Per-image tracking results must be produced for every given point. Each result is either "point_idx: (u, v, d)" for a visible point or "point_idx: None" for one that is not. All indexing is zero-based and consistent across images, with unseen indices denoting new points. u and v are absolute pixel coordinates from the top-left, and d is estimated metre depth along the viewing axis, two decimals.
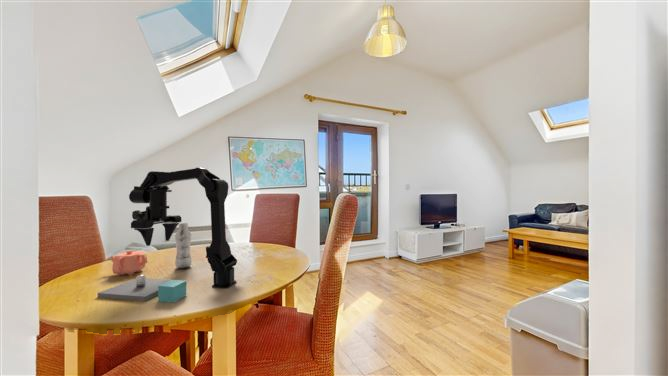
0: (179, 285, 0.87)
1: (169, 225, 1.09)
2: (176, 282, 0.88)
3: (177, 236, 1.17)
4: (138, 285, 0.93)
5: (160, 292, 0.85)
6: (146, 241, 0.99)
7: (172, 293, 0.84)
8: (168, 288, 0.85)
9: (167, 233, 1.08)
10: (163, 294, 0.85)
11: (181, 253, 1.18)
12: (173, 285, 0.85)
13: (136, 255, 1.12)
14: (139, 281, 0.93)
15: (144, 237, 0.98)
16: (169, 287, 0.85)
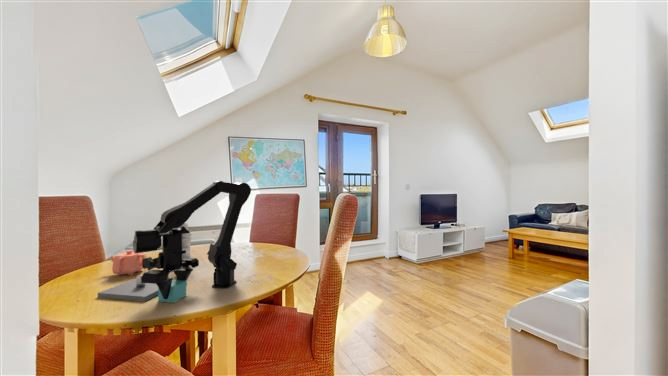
0: (179, 285, 0.87)
1: (181, 273, 0.91)
2: (176, 282, 0.88)
3: None
4: (138, 285, 0.93)
5: (160, 292, 0.85)
6: (163, 294, 0.84)
7: (172, 293, 0.84)
8: None
9: None
10: None
11: None
12: (173, 285, 0.85)
13: (136, 255, 1.12)
14: (139, 281, 0.93)
15: (161, 290, 0.83)
16: None
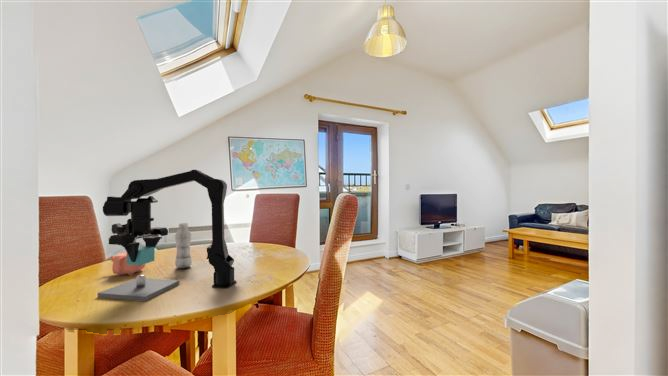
0: (147, 250, 0.93)
1: (150, 240, 0.97)
2: (144, 248, 0.94)
3: (177, 236, 1.17)
4: (138, 285, 0.93)
5: (128, 256, 0.91)
6: (131, 257, 0.90)
7: (139, 256, 0.91)
8: None
9: None
10: None
11: (181, 253, 1.18)
12: (141, 249, 0.92)
13: None
14: (139, 281, 0.93)
15: (129, 253, 0.90)
16: None
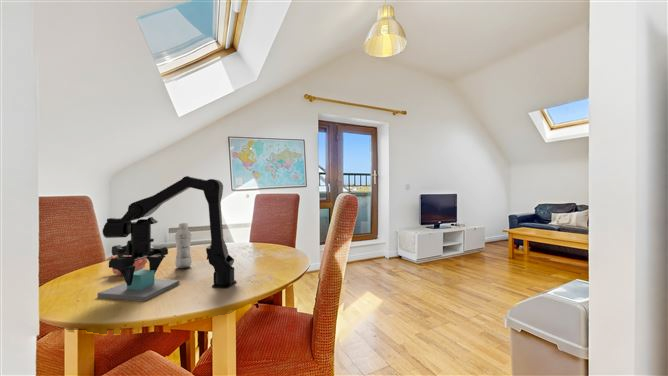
0: (147, 274, 0.93)
1: (154, 259, 0.99)
2: (144, 271, 0.94)
3: (177, 236, 1.17)
4: None
5: None
6: (127, 280, 0.89)
7: (139, 281, 0.91)
8: (136, 276, 0.91)
9: (152, 268, 0.98)
10: None
11: (181, 253, 1.18)
12: (141, 274, 0.92)
13: None
14: None
15: (124, 276, 0.88)
16: (136, 275, 0.91)
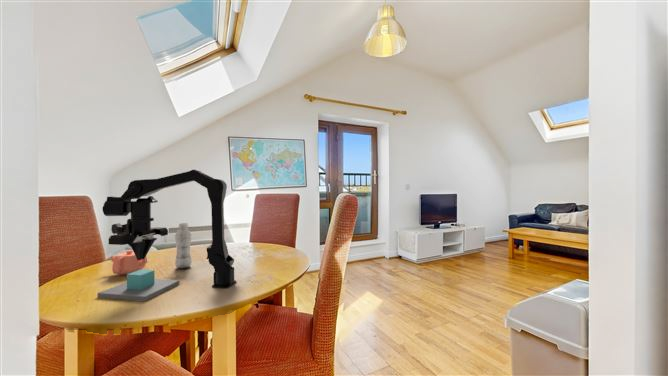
0: (147, 274, 0.93)
1: (145, 241, 0.95)
2: (144, 271, 0.94)
3: (177, 236, 1.17)
4: None
5: (128, 280, 0.91)
6: (137, 255, 0.92)
7: (139, 281, 0.91)
8: (136, 276, 0.91)
9: (142, 250, 0.95)
10: (131, 282, 0.91)
11: (181, 253, 1.18)
12: (141, 274, 0.92)
13: None
14: None
15: (135, 251, 0.92)
16: (136, 275, 0.91)
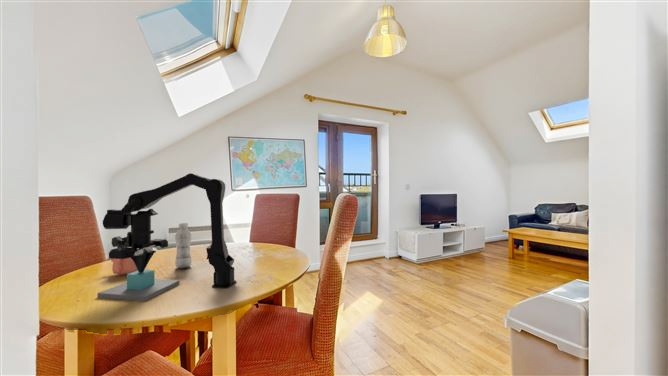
0: (147, 274, 0.93)
1: (144, 254, 0.94)
2: (144, 271, 0.94)
3: (177, 236, 1.17)
4: None
5: (128, 280, 0.91)
6: (138, 268, 0.93)
7: (139, 281, 0.91)
8: (136, 276, 0.91)
9: None
10: (131, 282, 0.91)
11: (181, 253, 1.18)
12: (141, 274, 0.92)
13: None
14: None
15: (136, 264, 0.93)
16: (136, 275, 0.91)
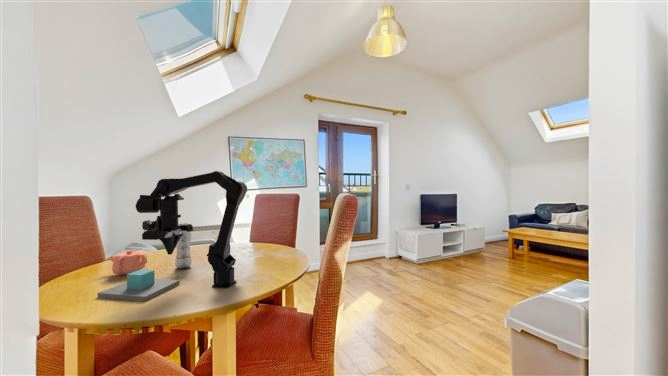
0: (147, 274, 0.93)
1: None
2: (144, 271, 0.94)
3: None
4: None
5: (128, 280, 0.91)
6: (167, 250, 0.98)
7: (139, 281, 0.91)
8: (136, 276, 0.91)
9: None
10: (131, 282, 0.91)
11: (181, 253, 1.18)
12: (141, 274, 0.92)
13: (136, 255, 1.12)
14: None
15: (166, 246, 0.98)
16: (136, 275, 0.91)
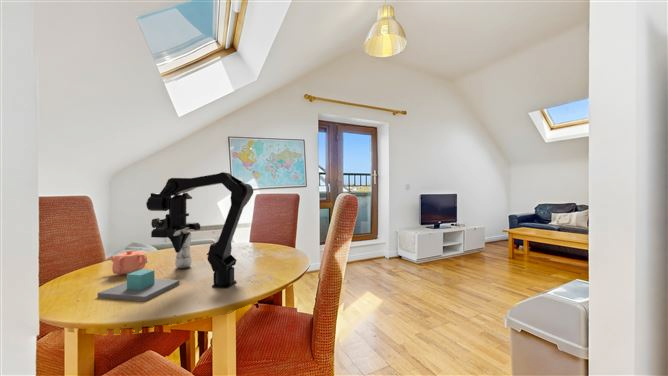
0: (147, 274, 0.93)
1: None
2: (144, 271, 0.94)
3: None
4: None
5: (128, 280, 0.91)
6: (175, 248, 1.00)
7: (139, 281, 0.91)
8: (136, 276, 0.91)
9: None
10: (131, 282, 0.91)
11: (181, 253, 1.18)
12: (141, 274, 0.92)
13: (136, 255, 1.12)
14: None
15: (174, 244, 0.99)
16: (136, 275, 0.91)
